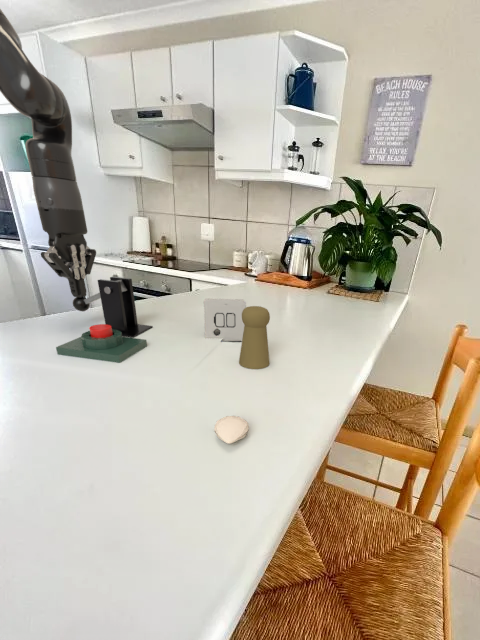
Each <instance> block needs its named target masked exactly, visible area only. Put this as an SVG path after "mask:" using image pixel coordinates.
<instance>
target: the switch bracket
mask: <svg viewBox="0 0 480 640" xmlns="http://www.w3.org/2000/svg"><path fill="white" fill-rule="evenodd" d="M117 280H122V281H123V283H124V285H125V287H126V289H127V291H125V292H123V293H122V290H121V283H120V281H117ZM97 286H98V291H99V293H100V297H101V298H100V302H101V308H102V312H103V313H102V314H103V320H104V324H106V325H110V326H111V327H112V329H114V330H118V331H120V332H122V337H129V338H137V337H138V336H140V335H142V334H144V333H146V332H148V331H149V330H151V329H153V328H154V326H153V325H147V324H139V323H138V316H137V308H136V303H135V302H136V300H135V295H134V293H135V292H134V287H133V280H132V278H128V277H119V276H110V277H109V279H101V278H100V279H97Z"/></svg>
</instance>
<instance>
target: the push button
mask: <svg viewBox="0 0 480 640" xmlns="http://www.w3.org/2000/svg"><path fill="white" fill-rule="evenodd" d="M88 329H89V331H90V334H91V337H94V338H105V337H110V336H112V335H113V332H112V327H111V326H110V325H106V324H105V323H101V324H93V325H91V326H89V328H88Z"/></svg>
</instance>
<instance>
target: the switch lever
mask: <svg viewBox="0 0 480 640" xmlns="http://www.w3.org/2000/svg"><path fill="white" fill-rule="evenodd" d="M117 281H120V283H121V290H122V293H123V292H125V291H127V289H126V287H125V285H124V283H123V281H122V280H117ZM97 300H101V297H100V292H98V293H95V294H93V295H91V296H89V297H87V298H86V296H85V297H81V298H80V297H74V299H73V300H72V307H73V308H74V309H75V310H76V311H78V312H87V311H88V310H89V309H90V306H91V303H93V302H97Z"/></svg>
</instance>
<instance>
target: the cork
mask: <svg viewBox="0 0 480 640" xmlns="http://www.w3.org/2000/svg"><path fill="white" fill-rule="evenodd" d="M270 319H271V314H270V311H269V310H268V309H267V308H266V307H264V306H259V305H249V306H246V308H245V309H244V310H243V311H242V321H243V323H244V332H243V338H242V341H241V346H240V352H239V359H238V364H239V365H240V367H242V368H245V369H250V370H262V369H266V368H268V367H269V366H270V354H269V353H270V352H269V342H268V341H269V340H268V330H267V329H268V328H267V327H268V326H267V325H269V323H270Z"/></svg>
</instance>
